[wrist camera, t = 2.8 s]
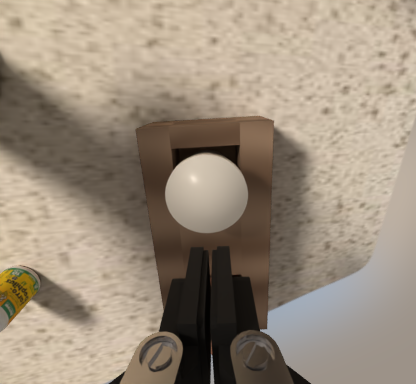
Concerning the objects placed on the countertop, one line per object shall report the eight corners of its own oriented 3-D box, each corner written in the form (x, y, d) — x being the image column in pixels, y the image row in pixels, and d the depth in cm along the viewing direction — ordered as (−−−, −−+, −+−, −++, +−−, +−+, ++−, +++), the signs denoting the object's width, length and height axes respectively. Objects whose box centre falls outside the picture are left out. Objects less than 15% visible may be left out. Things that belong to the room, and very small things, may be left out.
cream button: (172, 144, 24) (160, 158, 18) (239, 140, 24) (247, 153, 18) (179, 205, 26) (169, 234, 20) (240, 202, 26) (248, 231, 20)
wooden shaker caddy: (153, 122, 28) (135, 128, 22) (259, 115, 28) (273, 120, 21) (175, 290, 37) (167, 332, 30) (257, 287, 36) (267, 329, 30)
